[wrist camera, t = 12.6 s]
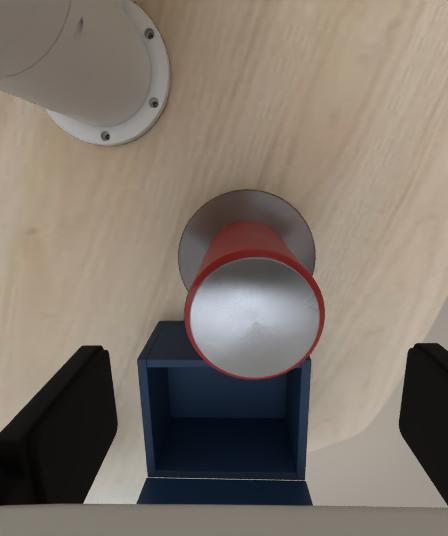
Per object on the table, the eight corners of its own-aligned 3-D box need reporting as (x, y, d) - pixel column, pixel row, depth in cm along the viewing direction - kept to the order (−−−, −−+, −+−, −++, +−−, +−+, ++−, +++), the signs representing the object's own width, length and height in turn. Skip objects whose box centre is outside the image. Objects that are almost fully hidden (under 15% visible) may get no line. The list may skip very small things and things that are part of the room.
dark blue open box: (158, 321, 37) (136, 359, 29) (294, 320, 36) (311, 360, 28) (165, 418, 40) (147, 477, 32) (290, 419, 39) (305, 480, 31)
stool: (189, 189, 33) (174, 190, 25) (299, 187, 32) (319, 188, 25) (193, 293, 36) (181, 323, 28) (295, 293, 35) (312, 323, 27)
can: (205, 220, 26) (179, 251, 14) (287, 219, 25) (331, 249, 14) (207, 298, 27) (186, 383, 16) (285, 298, 27) (322, 384, 15)
